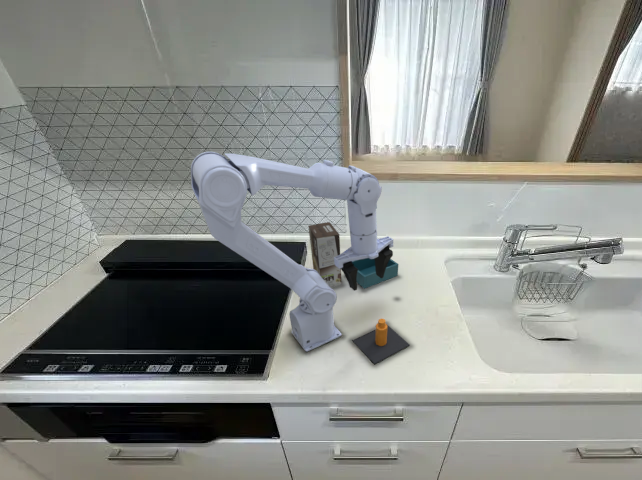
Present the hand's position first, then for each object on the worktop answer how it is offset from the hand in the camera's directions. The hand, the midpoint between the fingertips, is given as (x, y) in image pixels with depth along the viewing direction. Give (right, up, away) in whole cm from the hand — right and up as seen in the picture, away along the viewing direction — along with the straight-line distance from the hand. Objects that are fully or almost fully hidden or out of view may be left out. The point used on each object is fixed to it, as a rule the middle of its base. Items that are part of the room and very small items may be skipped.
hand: (366, 282), depth 76 cm
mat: (+3, -14, -2) cm, 15 cm away
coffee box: (-12, +2, +19) cm, 23 cm away
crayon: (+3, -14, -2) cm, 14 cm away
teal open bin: (+2, +3, +21) cm, 21 cm away
